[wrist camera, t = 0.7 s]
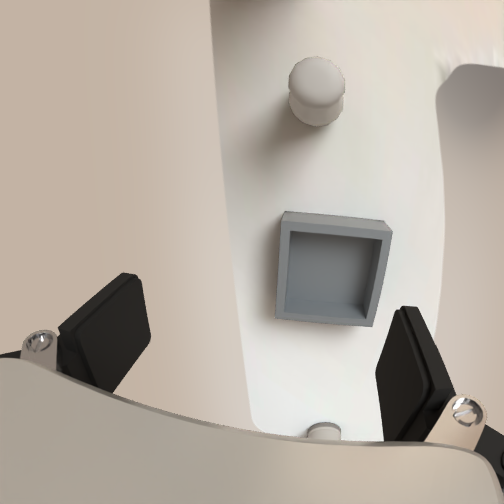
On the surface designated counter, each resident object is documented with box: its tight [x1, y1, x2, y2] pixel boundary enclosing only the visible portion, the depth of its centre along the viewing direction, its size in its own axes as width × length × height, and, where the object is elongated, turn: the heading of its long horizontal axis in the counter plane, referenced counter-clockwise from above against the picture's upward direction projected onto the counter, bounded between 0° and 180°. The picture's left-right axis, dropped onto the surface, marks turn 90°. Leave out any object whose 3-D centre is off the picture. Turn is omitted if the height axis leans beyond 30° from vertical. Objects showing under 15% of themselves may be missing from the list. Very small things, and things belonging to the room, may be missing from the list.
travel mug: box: [307, 422, 341, 440], centre depth 39 cm, size 6×7×20 cm
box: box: [275, 211, 393, 327], centre depth 35 cm, size 12×12×4 cm
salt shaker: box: [288, 57, 345, 126], centre depth 24 cm, size 6×6×13 cm
